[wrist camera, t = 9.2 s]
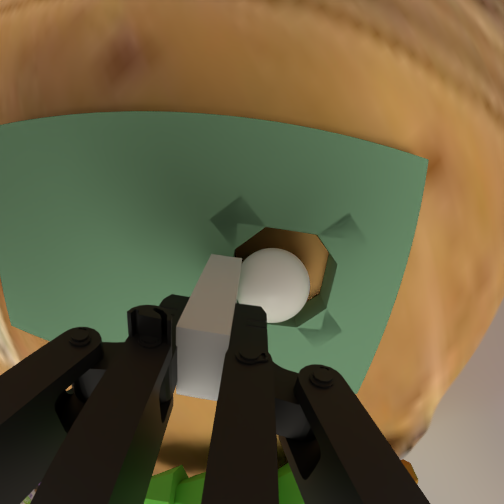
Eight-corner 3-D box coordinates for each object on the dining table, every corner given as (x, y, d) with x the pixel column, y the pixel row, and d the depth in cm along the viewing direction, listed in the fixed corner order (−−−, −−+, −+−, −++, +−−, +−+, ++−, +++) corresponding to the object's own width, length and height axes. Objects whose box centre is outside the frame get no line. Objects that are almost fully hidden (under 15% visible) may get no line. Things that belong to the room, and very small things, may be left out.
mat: (13, 126, 14) (-4, 125, 13) (411, 159, 15) (428, 159, 13) (24, 314, 19) (11, 325, 17) (350, 376, 20) (356, 393, 18)
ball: (223, 242, 15) (284, 270, 12) (274, 235, 18) (330, 256, 15) (216, 311, 16) (269, 347, 13) (264, 295, 19) (314, 321, 16)
